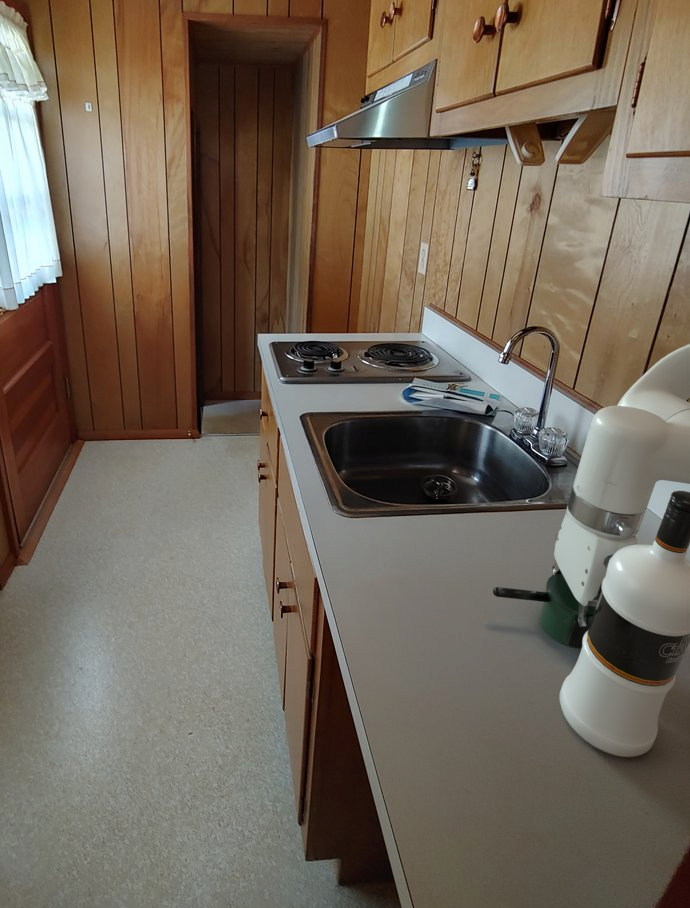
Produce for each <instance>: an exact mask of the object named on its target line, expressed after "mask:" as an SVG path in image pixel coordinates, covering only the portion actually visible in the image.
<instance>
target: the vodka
mask: <svg viewBox="0 0 690 908" xmlns="http://www.w3.org/2000/svg"><path fill="white" fill-rule="evenodd" d="M689 546H690V491H688V490H687V491H686V490H675V491H673V492H671V493H670V498H669V500H668V502H667V506H666V508H665V512H664V513H663V516H662V519H661V522H660V524H659V527H658V530H657V532H656V535H655V538H654V540H653V543H652V544H637V545H630V546H626V547H624V548H622V549H620V550H618V551H617V552H616V553H615V554H614V555H613V556H612V558H611V559H610V560H609V563H608V567H607V572H606V576H605V578H604V579H603V581H602V591H601V594H600V597H599V600H598V603H597V606H596V609H595V612H594V615H593V618H592V621H591V624H590V627H589V630H588V631H587V632H586V633H585V634H584V636H583V641H582V644H583V645H582V649H580V653H579V656H578V658H577V661H576V663H575V665H574V667H572V668H573V669H572V670H571V672H570V673H569V675H567V676H566V678H565V679H564V681H563V682H562V685H561V688H560V691H559V696H558V697H559V704H560V708H561V712H562V713H563V716H564V718H565V720H566V721H567V723H568V725H569V726H570V727H571V728H572V730H573V731H574V732H575V733H576V734H578V735H579V737H581V738H582V739H583V740H584V741H585V742H587V743H588V744H590V745H591V746H593V747H594V748H596V749H598V750H600V751H602V752H604V753H606V754H609V755H613V756H616V757H620V758H621V757H622V758H634V757H639V756H642V755H643V754H646V753H647V752H649V751H650V749H652V747H653V745H654V743H655V741H656V738H657V737H658V736H657V735H658V732H659V725H658V722H659V716H660V712H661V710H662V707H663V704H664V701H665V699H666V696H667V695H668V692H669V691H670V690H672V688H673V687H674V685H675V683H676V673H677V671H678V669H679V666H680V664H681V662H682V660H683V657H684V655H685V653H686V650H687V649H688V646H689V644H690V560H689V559H688V558H686V556H687V554H688V550H689Z"/></svg>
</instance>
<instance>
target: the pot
mask: <svg viewBox="0 0 690 908" xmlns="http://www.w3.org/2000/svg"><path fill="white" fill-rule="evenodd" d="M552 575H553V576H552ZM552 575H551V576H550V577H549V578H548V579H547V581H546V584H545V591H539V590H528V589H519V588H509V587H502V586H501V587H500V586H495V587H494V588H493V589H492V594H493V595H494V597H497V598H505V599H515V600H521V601H522V600H524V601H533V602H543V604H542V608H541V610H540V615H539V618H538V619H539V621H538V622H539V624H540V627H541V629H542V630H543V631H544V633H545V634H546V635H547V636H548V637H549V638H550V639H552V640H554V641H555V642H556V643H559V644H560V645H563V646H565V647H568V648H570V649H578V650H579V649H580V650H581V649H582V648H577V647H570V646H569V645H568V643H567V639H568V636H569V633H570V630H571V627H572V624H573V621H574V619H578V606H579V602H578V601H577V599H576V598H575V596H574V595H573V593H572V591H571V589H570V587H569V586H568V584H567V582H566V580H565V578H564V576H563V574H552ZM593 600H598V595H597V596H596V597H595V598H594V599H593ZM595 609H596V607H591V606H588V610H587V617H593V615H594V612H595Z"/></svg>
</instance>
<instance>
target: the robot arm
mask: <svg viewBox="0 0 690 908" xmlns="http://www.w3.org/2000/svg"><path fill="white" fill-rule="evenodd" d="M689 399H690V343H688V344H686V345H685V346H682V347H680V348H677V349H675V350H673V351H672V352H670V353H668V354H667V355H665V356H663V357H662V358H661V359H659V360H658V361H656V363H655V364H654V365H652V366H651V367H650V368H649V369H648V370H647V371H646V372H645V373H644V374H642V376H641V377H640V378H639V379H637V380H636V381H635V383H633V384H632V385H631V386H630V388H629V389H628V390H627V391H626V392H625V393H624V394H623V396H622V397H621V399H620V400H619V401H618V403H617V405H610V406H605V407H601V409H599V410H597V412H596V413H595V414H594V415H593V417H592V419H591V421H590V425H589V429H588V433H587V435H586V439H585V443H584V446H583V450H582V453H581V457H580V461H579V463H578V467H577V471H576V474H575V477H574V482H573V485H572V488H571V491H570V494H569V499H568V502H567V506H566V511H565V515H564V518H563V519H562V522H561V525H560V528H559V530H558V533H556V534H555V545H554V550H553V556H554V559H555V562H554V564H553V565H552V567H551V571H552V575H551V576H553V575H555V574H563V576H564V578H565V580H566V582H567V584H568V586H569V587H570V589H571V591H572V593H573V595H574V596H575V598H576V599H577V601H578V602H579V606H578V619H574V621H573V624H572V627H571V630H570V633H569V636H568V639H567V643H568V645H569V646H570V647H569V648H571V647H577V648H582V645H583V644H582V641H583V636H584V634H585V633H586V632H587V631H588V630H589V627H590V624H591V621H592V618H593V617H587V610H588V606H591V607H596V606H597V603H598V600H599V597H600V594H601V591H602V581H603V579H604V578H605V576H606V572H607V567H608V563H609V560H610V559H611V558H612V556H613V555H614V554H615V553H616V552H617V551H618V550H620V549H622V548H624V547H626V546H630V545H638V539H637V537H636V536H637V535H638V533H639V531H640V529H641V526H642V522H643V520H644V517H645V514H646V511H647V509H648V505H649V503H650V500H651V497H652V494H653V491H654V490H655V489H654V488H655V486H656V483H657V482H659V481H667V482H674V483H682V484H688V485H690V402H689V401H688V400H689ZM597 595H598V600H593V599H594V598H595V597H596V596H597ZM577 648H576V649H577Z"/></svg>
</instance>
